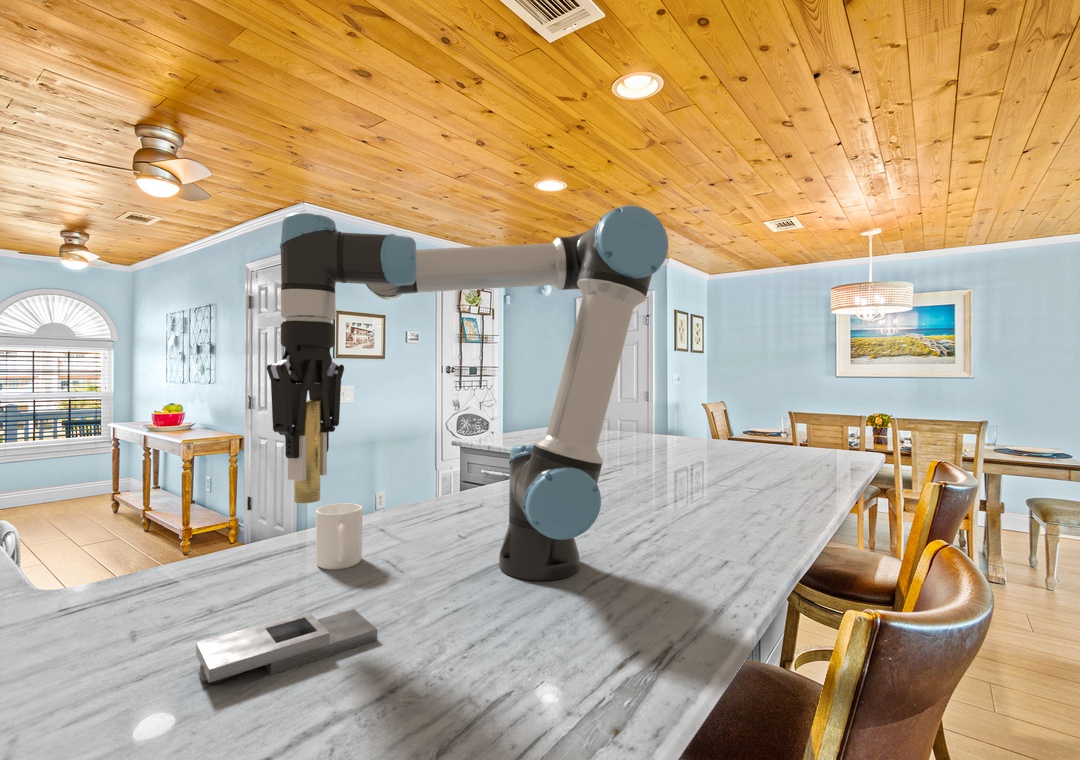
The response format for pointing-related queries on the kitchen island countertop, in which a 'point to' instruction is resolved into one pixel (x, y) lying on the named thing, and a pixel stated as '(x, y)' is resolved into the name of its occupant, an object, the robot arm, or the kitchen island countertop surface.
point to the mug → (338, 536)
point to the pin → (310, 455)
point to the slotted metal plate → (281, 644)
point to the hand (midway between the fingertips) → (307, 476)
